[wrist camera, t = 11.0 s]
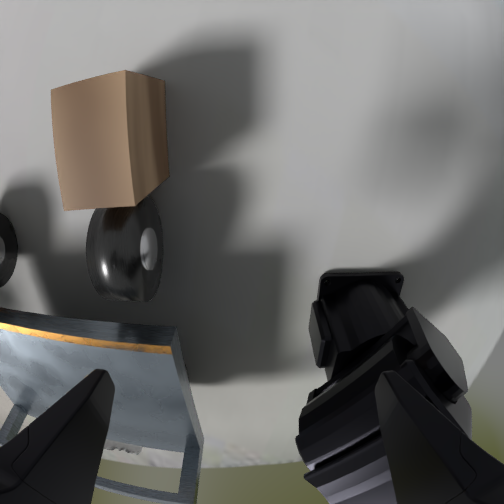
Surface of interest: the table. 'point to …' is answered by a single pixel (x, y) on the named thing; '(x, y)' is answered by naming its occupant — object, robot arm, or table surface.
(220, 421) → the table surface
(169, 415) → the trolley
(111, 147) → the block
